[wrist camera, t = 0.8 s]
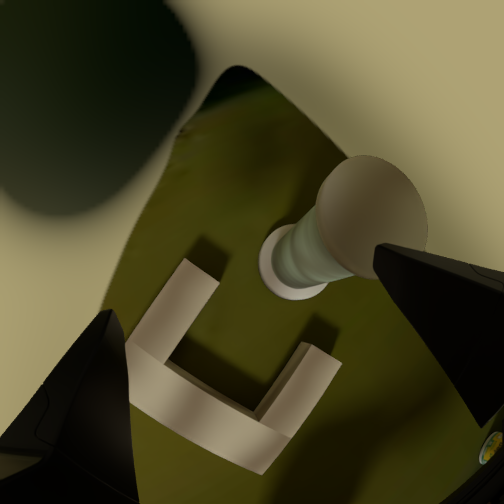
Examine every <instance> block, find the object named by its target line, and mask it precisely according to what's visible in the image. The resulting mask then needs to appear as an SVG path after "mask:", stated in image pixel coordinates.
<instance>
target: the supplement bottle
mask: <svg viewBox="0 0 504 504" xmlns="http://www.w3.org/2000/svg"><path fill="white" fill-rule="evenodd" d="M501 446H502V433H501V432H494V433H492V434H491V435H490V436H489V437H488V438H487V440H486V441H485V443H484V445H483V447H482V449H481V451H480V455H479V461H480V463H481V464H483V465H484V464H485V463H486V462H487V461H488V460H489V459H490V458H491V457H492V456H493V455H494V454H495V453H496V451H497V450H498V449H499V448H500V447H501Z"/></svg>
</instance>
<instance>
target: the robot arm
mask: <svg viewBox="0 0 504 504" xmlns="http://www.w3.org/2000/svg"><path fill="white" fill-rule="evenodd" d="M373 270H374V272H375V274H376V275H377V277H378V278H379V280H380V281H381V283H382V284H383V286H384V287H385V289H386V290H387V292H388V294H389V295H390V297H391V298H392V300H393V301H394V303H395V304H396V305H397V307H398V308H399V309H400V310H401V312H402V313H403V314H404V316H405V317H406V318H407V320H408V321H409V322H410V324H411V325H412V326H413V328H414V329H415V330H416V332H417V333H418V334H419V336H420V337H421V339H422V340H423V341H424V343H425V344H426V345H427V347H428V348H429V350H430V351H431V352H432V354H433V355H434V357H435V358H436V360H437V361H438V362H439V364H440V365H441V367H442V368H443V370H444V371H445V373H446V374H447V376H448V377H449V379H450V380H451V382H452V383H453V385H454V387H455V388H456V390H457V391H458V393H459V394H460V396H461V397H462V399H463V401H464V402H465V404H466V405H467V407H468V409H469V410H470V412H471V414H472V415H473V417H474V419H475V420H476V422H477V424H478V425H479V427H480V428H483V427H484V426H485V425H486V424H487V423H488V422H489V421H490V420H491V419H492V418H493V417H494V416H495V415H496V413H497V412H498V411H499V410H500V409H501V408H502V407H503V406H504V272H501V271H497V270H492V269H488V268H484V267H480V266H477V265H473V264H468V263H465V262H462V261H457V260H454V259H450V258H446V257H442V256H439V255H434V254H431V253H427V252H423V251H419V250H415V249H411V248H406V247H402V246H398V245H394V244H390V243H382V244H378V245H376V247H375V249H374V257H373ZM489 501H490V503H491V504H504V419H503V420H502V446H501V447H500V448H499V449H498V450H497V451H496V453H495V454H494V455H493V456H492V457H491V458H490V459H489V460H488V461H487V462H486V463H485V464H484V465H483V466H482V467H481V468H480V469H479V470H478V471H477V472H476V473H475V474H474V475H472V476H471V477H470V478H469V479H468V480H467V481H466V482H465V483H464V484H462V485H461V486H460V487H459V488H458V489H457V490H455V491H454V492H453V493H452V494H451V495H449V496H448V497H447V498H446V499H444V500H443V501H442V502H441V503H439V504H487V503H488V502H489ZM138 502H139V497H138V490H137V483H136V476H135V468H134V459H133V449H132V438H131V424H130V404H129V376H128V367H127V359H126V350H125V339H124V333H123V329H122V327H121V325H120V323H119V320H118V318H117V316H116V314H115V312H114V310H112V309H108V310H103V311H100V312H99V313H98V315H97V316H96V317H95V318H94V319H93V320H92V322H91V323H90V324H89V325H88V326H87V328H86V329H85V330H84V331H83V333H82V334H81V335H80V336H79V337H78V339H77V340H76V341H75V342H74V343H73V345H72V346H71V347H70V348H69V350H68V351H67V352H66V354H65V355H64V356H63V357H62V359H61V360H60V361H59V362H58V364H57V365H56V366H55V367H54V369H53V370H52V372H51V373H50V374H49V376H48V377H47V378H46V379H45V381H44V382H43V384H42V385H41V386H40V387H39V389H38V390H37V391H36V393H35V394H34V395H33V397H32V398H31V399H30V401H29V402H28V404H27V405H26V406H25V407H24V408H23V410H22V411H21V412H20V413H19V415H18V416H17V417H16V418H15V419H14V421H13V422H12V423H11V424H10V426H9V427H8V428H7V429H6V431H5V432H4V433H3V434H2V435H1V437H0V504H140V503H138Z"/></svg>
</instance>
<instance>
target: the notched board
mask: <svg viewBox="0 0 504 504" xmlns="http://www.w3.org/2000/svg"><path fill="white" fill-rule="evenodd" d="M218 286H219V282H218V281H216V280H215V279H214V278H212V277H211V276H209V275H208V274H206V273H205V272H204V271H202V270H201V269H199V268H198V267H197V266H195V265H194V264H192V263H191V262H190V261H188V260H187V259H185V258H184V260H183V261H182V262H181V264H180V265H179V266H178V268H177V269H176V271H175V272H174V273H173V275H172V276H171V278H170V279H169V280H168V282H167V283H166V285H165V286H164V288H163V289H162V290H161V292H160V293H159V295H158V296H157V298H156V299H155V300H154V302H153V303H152V305H151V306H150V308H149V309H148V311H147V312H146V313H145V315H144V316H143V318H142V319H141V321H140V322H139V324H138V325H137V327H136V328H135V330H134V331H133V333H132V334H131V336H130V337H129V339H128V340H127V342H126V343H125V350H126V359H127V367H128V376H129V402H130V403H132V404H133V405H135V406H136V407H138V408H139V409H140V410H142V411H143V412H145V413H146V414H148V415H149V416H151V417H152V418H154V419H155V420H157V421H158V422H160V423H162V424H163V425H165V426H166V427H168V428H170V429H171V430H173V431H175V432H176V433H178V434H180V435H181V436H183V437H185V438H187V439H188V440H190V441H192V442H194V443H196V444H197V445H199V446H201V447H203V448H205V449H207V450H209V451H211V452H212V453H214V454H216V455H218V456H220V457H222V458H224V459H227V460H229V461H231V462H233V463H235V464H237V465H239V466H242V467H244V468H246V469H248V470H251V471H253V472H255V473H258V474H260V475H262V474H263V473H264V472H265V471H266V470H267V469H268V467H269V466H270V465H271V464H272V462H273V461H274V460H275V459H276V458H277V456H278V455H279V454H280V453H281V451H282V450H283V449H284V447H285V446H286V445H287V444H288V442H289V441H290V440H291V438H292V437H293V436H294V434H295V433H296V432H297V430H298V429H299V428H300V426H301V425H302V423H303V422H304V421H305V419H306V418H307V416H308V415H309V414H310V412H311V411H312V409H313V408H314V406H315V405H316V403H317V402H318V400H319V399H320V397H321V396H322V394H323V393H324V391H325V390H326V388H327V387H328V385H329V384H330V382H331V380H332V379H333V377H334V376H335V374H336V372H337V371H338V369H339V368H340V366H341V364H342V363H341V362H339V361H338V360H336V359H334V358H333V357H331V356H330V355H328V354H326V353H325V352H323V351H322V350H320V349H318V348H317V347H315V346H314V345H312V344H309V343H305V342H301V343H300V344H299V346H298V347H297V349H296V350H295V352H294V354H293V355H292V357H291V358H290V360H289V361H288V363H287V364H286V366H285V367H284V369H283V370H282V372H281V373H280V375H279V376H278V378H277V379H276V381H275V382H274V383H273V385H272V386H271V388H270V389H269V391H268V392H267V394H266V395H265V396H264V398H263V399H262V401H261V402H260V403H259V405H258V406H257V408H256V409H255V410H254V412H253V411H251V410H249V409H247V408H245V407H244V406H242V405H240V404H238V403H237V402H235V401H233V400H231V399H230V398H228V397H226V396H225V395H223V394H221V393H220V392H218V391H216V390H215V389H213V388H211V387H210V386H208V385H207V384H205V383H203V382H202V381H200V380H199V379H197V378H196V377H194V376H192V375H191V374H189V373H188V372H186V371H185V370H183V369H182V368H180V367H179V366H177V365H176V364H175V363H173V362H172V361H170V360H169V359H168V358H169V357H170V355H171V354H172V352H173V351H174V349H175V348H176V346H177V345H178V343H179V342H180V341H181V339H182V338H183V336H184V335H185V333H186V332H187V330H188V329H189V327H190V326H191V325H192V323H193V322H194V320H195V319H196V317H197V316H198V314H199V313H200V312H201V310H202V309H203V307H204V306H205V304H206V303H207V301H208V300H209V299H210V297H211V296H212V294H213V293H214V291H215V290H216V289H217V287H218Z"/></svg>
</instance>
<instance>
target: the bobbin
mask: <svg viewBox="0 0 504 504" xmlns="http://www.w3.org/2000/svg"><path fill="white" fill-rule="evenodd" d="M427 232H428V226H427V217H426V212H425V208H424V205H423V202H422V200H421V198H420V195H419V194H418V192H417V190H416V188H415V187H414V185H413V184H412V183H411V181H410V180H409V179H408V178H407V176H406V175H405V174H404V173H402V172H401V171H400V170H399V169H398V168H397V167H395V166H394V165H392V164H391V163H389V162H387V161H385V160H383V159H380V158H377V157H372V156H364V155H363V156H355V157H351V158H349V159H346V160H345V161H343V162H341V163H340V164H339V165H338V166H337V167H336V168H335V169H334V170H333V171H332V172H331V173H330V175H329V176H328V177H327V178H326V179H325V181H324V182H323V183H322V185H321V187H320V189H319V192H318V195H317V199H316V205H315V206H314V207H313V208H312V209H311V210H310V211H309V212H308V213H307V214H306V215H304V216H303V217H302V218H301V219H300V220H299V221H298V222H297V223H296V224H289V225H285V226H282V227H280V228H278V229H276V230H275V231H274V232H272V233H271V234H270V235H269V237H268V238H267V239H266V240H265V242H264V243H263V245H262V246H261V249H260V252H259V255H258V270H259V273H260V276H261V279H262V281H263V282H264V284H265V285H266V287H267V288H268V289H269V290H270V291H271V292H273V293H274V294H275V295H277V296H279V297H281V298H284V299H287V300H301V299H307V298H310V297H313V296H315V295H316V294H318V293H319V292H321V291H322V290H323V289H324V288H325V286H326V285H327V284H328V282H331V281H335V280H339V279H342V278H346V277H350V276H353V275H357V276H359V277H362V278H366V279H379V278H378V277H377V275H376V274H375V272H374V270H373V257H374V249H375V247H376V245H378V244H382V243H390V244H394V245H398V246H402V247H406V248H411V249H415V250H419V251H424V249H425V245H426V241H427Z"/></svg>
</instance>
